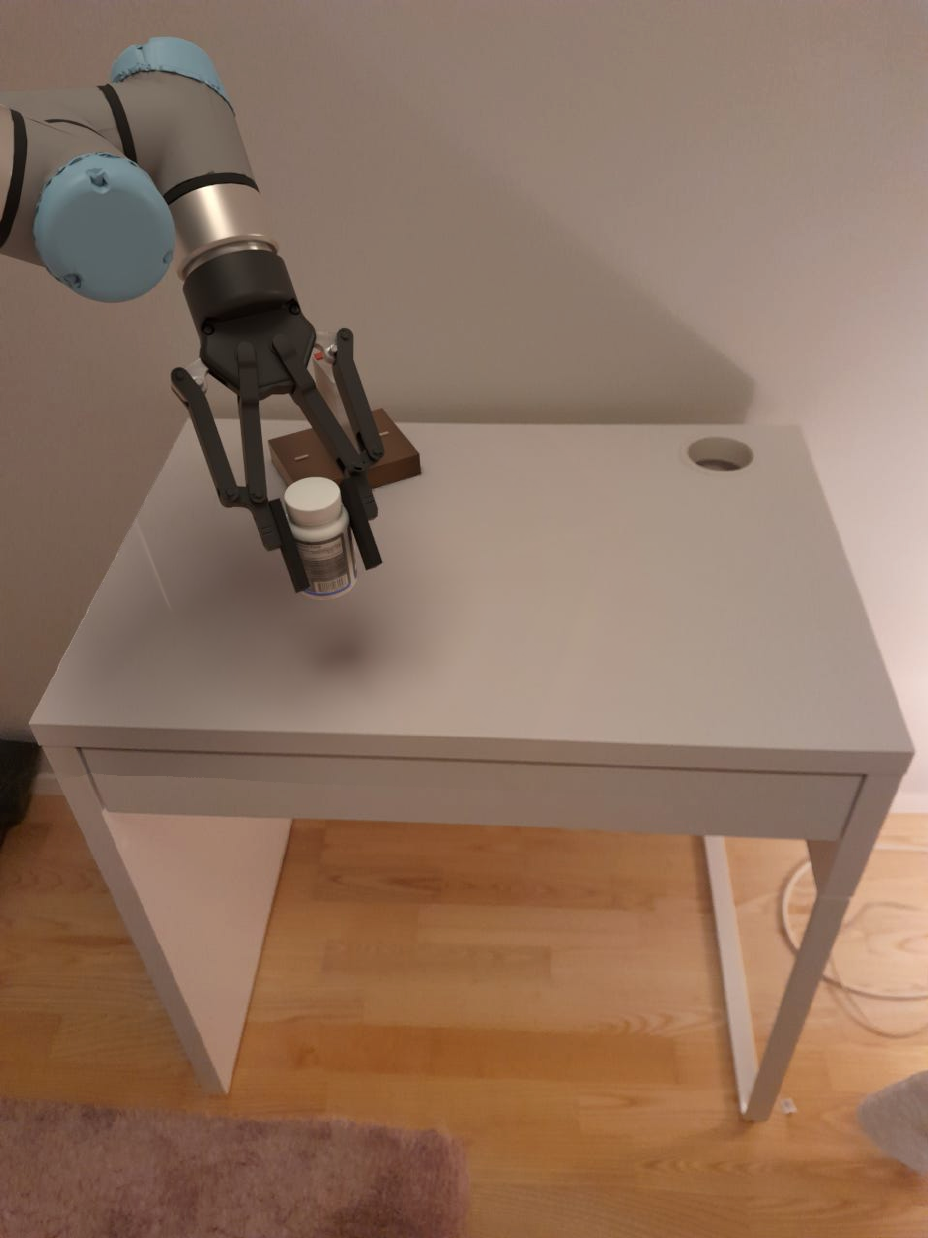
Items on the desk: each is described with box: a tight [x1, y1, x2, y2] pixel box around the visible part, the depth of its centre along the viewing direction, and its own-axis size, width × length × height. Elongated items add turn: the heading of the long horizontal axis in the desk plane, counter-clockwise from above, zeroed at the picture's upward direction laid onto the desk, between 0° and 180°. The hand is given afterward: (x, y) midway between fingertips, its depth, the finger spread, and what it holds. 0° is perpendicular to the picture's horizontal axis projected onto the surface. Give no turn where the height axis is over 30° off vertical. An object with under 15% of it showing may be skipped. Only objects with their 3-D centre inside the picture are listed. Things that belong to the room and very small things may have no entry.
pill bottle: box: [283, 477, 358, 601], centre depth 69 cm, size 5×5×8 cm
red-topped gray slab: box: [311, 351, 360, 454], centre depth 93 cm, size 6×2×9 cm, turn 26°
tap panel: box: [267, 407, 422, 490], centre depth 97 cm, size 13×10×3 cm
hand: (338, 577), depth 68 cm, fingers closed on pill bottle, 5 cm apart
